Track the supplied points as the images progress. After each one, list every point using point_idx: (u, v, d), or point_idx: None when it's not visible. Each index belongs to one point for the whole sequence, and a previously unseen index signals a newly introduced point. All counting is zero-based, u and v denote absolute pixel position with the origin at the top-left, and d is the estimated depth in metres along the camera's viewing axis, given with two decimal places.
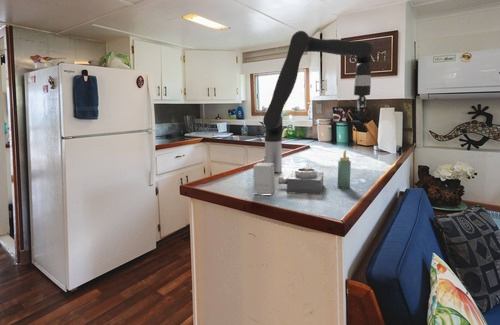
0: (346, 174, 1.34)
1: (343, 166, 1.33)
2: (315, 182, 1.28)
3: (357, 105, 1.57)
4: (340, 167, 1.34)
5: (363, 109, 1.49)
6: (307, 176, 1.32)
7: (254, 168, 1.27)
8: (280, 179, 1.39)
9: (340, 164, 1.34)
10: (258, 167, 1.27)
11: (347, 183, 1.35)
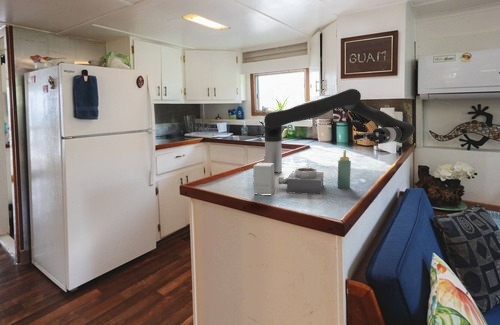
0: (346, 174, 1.34)
1: (343, 166, 1.33)
2: (315, 182, 1.28)
3: (366, 133, 1.45)
4: (340, 167, 1.34)
5: (381, 139, 1.37)
6: (307, 176, 1.32)
7: (254, 168, 1.27)
8: (280, 179, 1.39)
9: (340, 164, 1.34)
10: (258, 167, 1.27)
11: (347, 183, 1.35)
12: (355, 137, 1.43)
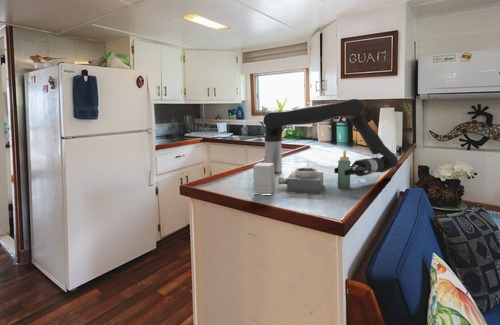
0: None
1: (343, 166, 1.33)
2: (315, 182, 1.28)
3: None
4: (340, 167, 1.34)
5: (357, 173, 1.33)
6: (307, 176, 1.32)
7: (254, 168, 1.27)
8: (280, 179, 1.39)
9: (340, 164, 1.34)
10: (258, 167, 1.27)
11: (347, 183, 1.35)
12: (336, 170, 1.37)
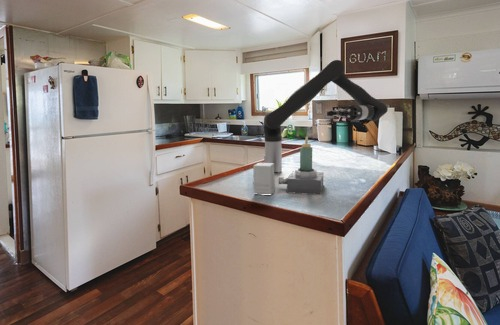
0: (307, 161, 1.33)
1: (304, 153, 1.32)
2: (315, 182, 1.28)
3: None
4: (301, 154, 1.33)
5: (352, 114, 1.44)
6: (307, 176, 1.32)
7: (254, 168, 1.27)
8: (280, 179, 1.39)
9: (301, 151, 1.33)
10: (258, 167, 1.27)
11: (308, 170, 1.34)
12: (328, 113, 1.51)
